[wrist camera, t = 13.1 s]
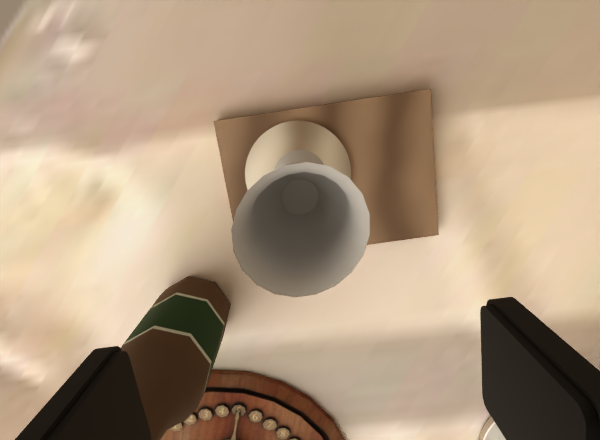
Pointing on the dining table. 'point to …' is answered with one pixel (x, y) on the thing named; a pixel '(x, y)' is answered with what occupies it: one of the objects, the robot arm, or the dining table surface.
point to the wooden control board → (253, 412)
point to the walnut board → (348, 155)
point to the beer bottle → (177, 350)
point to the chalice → (300, 227)
